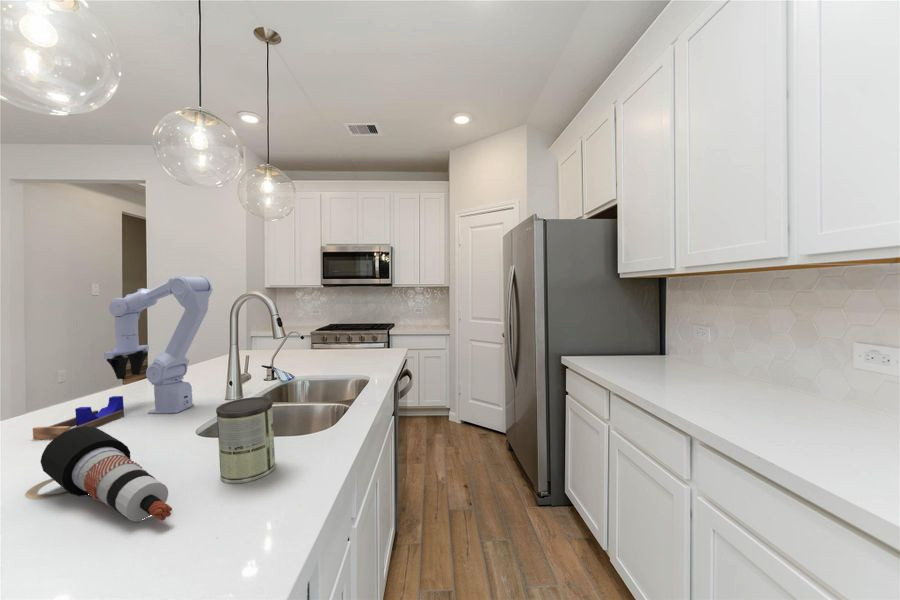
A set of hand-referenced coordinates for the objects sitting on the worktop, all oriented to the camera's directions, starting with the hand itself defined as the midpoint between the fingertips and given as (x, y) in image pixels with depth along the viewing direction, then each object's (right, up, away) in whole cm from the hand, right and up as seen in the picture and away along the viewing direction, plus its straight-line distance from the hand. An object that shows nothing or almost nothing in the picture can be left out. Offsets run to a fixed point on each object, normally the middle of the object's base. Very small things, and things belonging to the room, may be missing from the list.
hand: (128, 376), depth 125 cm
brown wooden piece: (0, -11, -16) cm, 19 cm away
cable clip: (+1, -11, -12) cm, 16 cm away
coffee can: (+63, -11, -45) cm, 78 cm away
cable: (+44, -12, -55) cm, 72 cm away
